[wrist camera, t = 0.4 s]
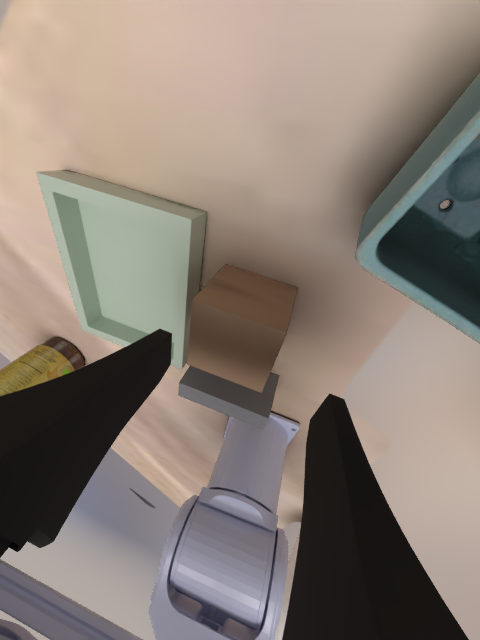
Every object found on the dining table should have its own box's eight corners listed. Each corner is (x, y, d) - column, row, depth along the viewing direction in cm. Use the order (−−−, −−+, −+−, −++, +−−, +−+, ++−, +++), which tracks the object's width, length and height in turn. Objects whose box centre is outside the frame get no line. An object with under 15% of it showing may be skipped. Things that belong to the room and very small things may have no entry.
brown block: (276, 342, 22) (261, 393, 18) (216, 320, 23) (187, 364, 18) (298, 287, 19) (286, 332, 14) (226, 263, 19) (192, 299, 15)
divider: (273, 387, 26) (263, 429, 22) (200, 359, 27) (178, 395, 23) (278, 375, 24) (268, 418, 20) (202, 347, 25) (179, 382, 22)
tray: (192, 353, 26) (181, 369, 25) (99, 317, 28) (81, 330, 26) (207, 211, 17) (191, 219, 15) (66, 169, 19) (36, 172, 17)
